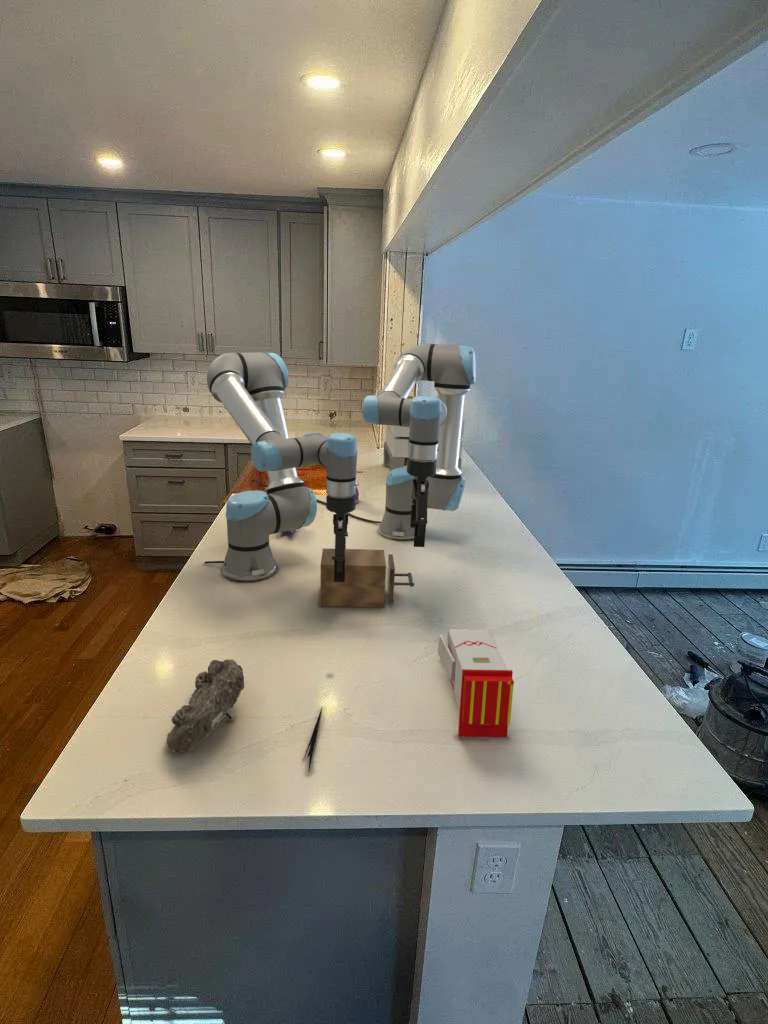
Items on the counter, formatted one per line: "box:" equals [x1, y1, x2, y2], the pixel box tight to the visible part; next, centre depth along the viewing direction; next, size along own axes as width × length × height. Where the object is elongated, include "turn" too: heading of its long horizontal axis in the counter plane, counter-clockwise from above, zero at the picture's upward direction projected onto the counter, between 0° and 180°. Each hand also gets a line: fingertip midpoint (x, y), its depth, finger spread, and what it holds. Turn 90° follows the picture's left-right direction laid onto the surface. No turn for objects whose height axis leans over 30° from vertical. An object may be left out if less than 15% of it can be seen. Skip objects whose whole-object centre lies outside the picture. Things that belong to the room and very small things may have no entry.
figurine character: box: [280, 529, 296, 538], centre depth 196 cm, size 7×8×15 cm
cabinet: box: [319, 548, 387, 608], centre depth 153 cm, size 17×10×12 cm, turn 93°
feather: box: [301, 673, 332, 771], centre depth 108 cm, size 2×28×2 cm
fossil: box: [166, 658, 245, 754], centre depth 106 cm, size 22×10×15 cm
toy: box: [437, 628, 515, 738], centre depth 117 cm, size 12×13×30 cm
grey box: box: [383, 395, 465, 472], centre depth 268 cm, size 34×33×41 cm
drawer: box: [386, 553, 415, 604], centre depth 153 cm, size 21×9×10 cm, turn 93°
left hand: (339, 570), depth 152 cm, fingers open, 13 cm apart
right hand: (416, 536), depth 151 cm, fingers open, 13 cm apart
